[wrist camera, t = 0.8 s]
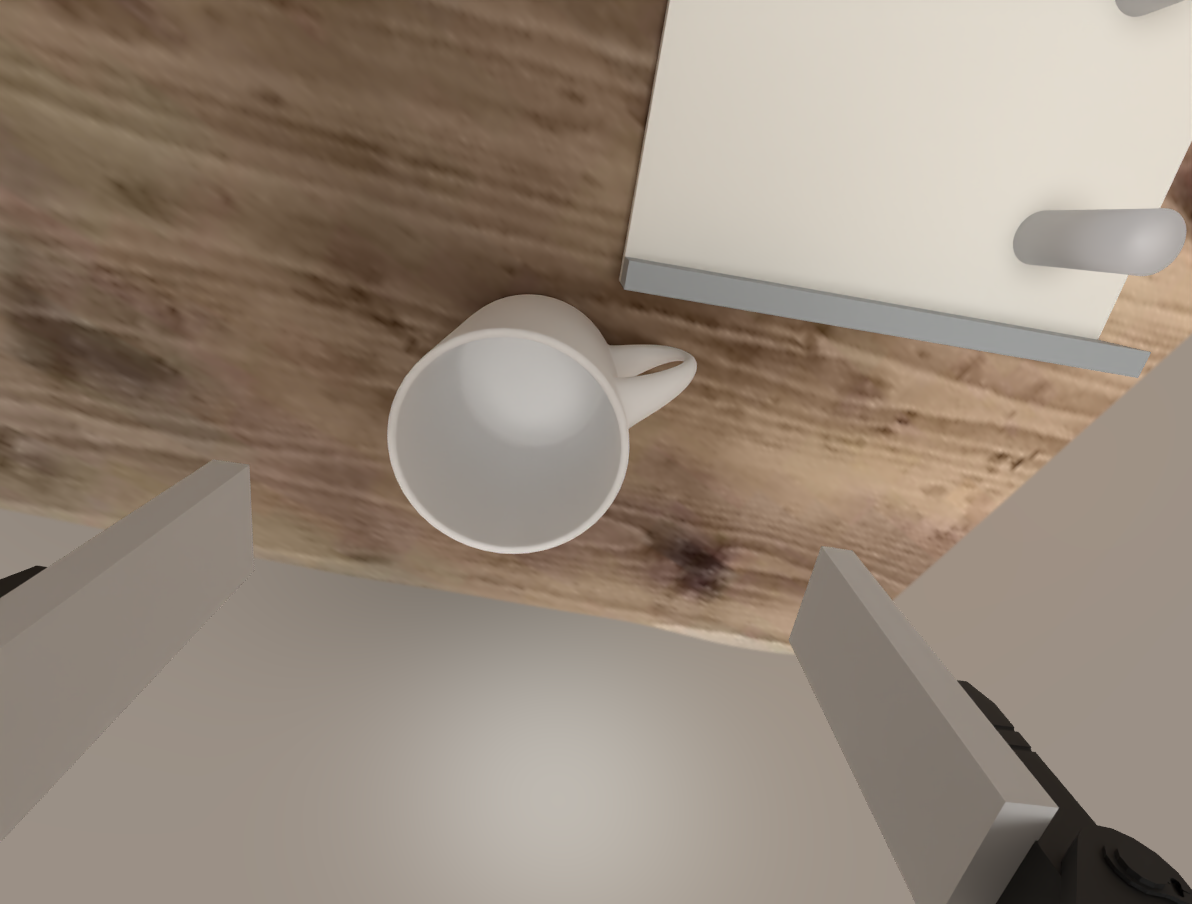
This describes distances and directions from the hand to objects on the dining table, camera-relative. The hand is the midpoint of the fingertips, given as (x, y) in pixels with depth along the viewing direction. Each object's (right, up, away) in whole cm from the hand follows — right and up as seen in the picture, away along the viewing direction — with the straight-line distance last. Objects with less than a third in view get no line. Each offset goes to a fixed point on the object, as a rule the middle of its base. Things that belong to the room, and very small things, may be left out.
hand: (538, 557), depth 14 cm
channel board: (+16, +18, +13) cm, 28 cm away
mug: (0, +7, +17) cm, 19 cm away
